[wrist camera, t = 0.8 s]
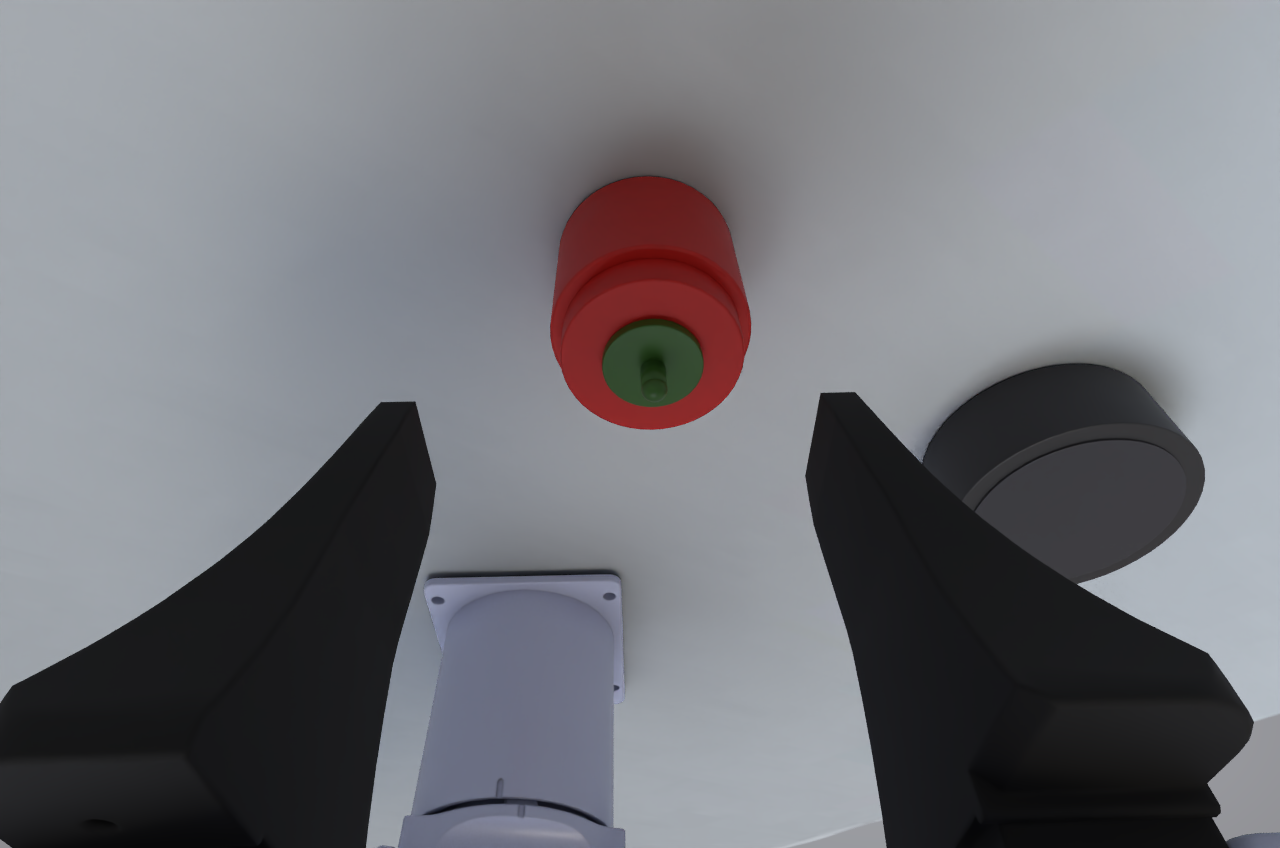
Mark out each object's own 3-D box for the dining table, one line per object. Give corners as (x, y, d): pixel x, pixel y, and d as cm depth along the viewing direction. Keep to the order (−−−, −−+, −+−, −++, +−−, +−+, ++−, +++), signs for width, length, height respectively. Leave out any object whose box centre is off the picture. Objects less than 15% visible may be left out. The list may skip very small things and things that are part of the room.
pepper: (726, 330, 24) (755, 475, 19) (565, 333, 24) (551, 479, 19) (739, 173, 20) (778, 298, 16) (552, 176, 20) (532, 303, 15)
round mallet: (973, 746, 42) (995, 804, 39) (828, 750, 42) (841, 808, 39) (1196, 361, 25) (1257, 422, 22) (953, 365, 25) (989, 427, 22)
